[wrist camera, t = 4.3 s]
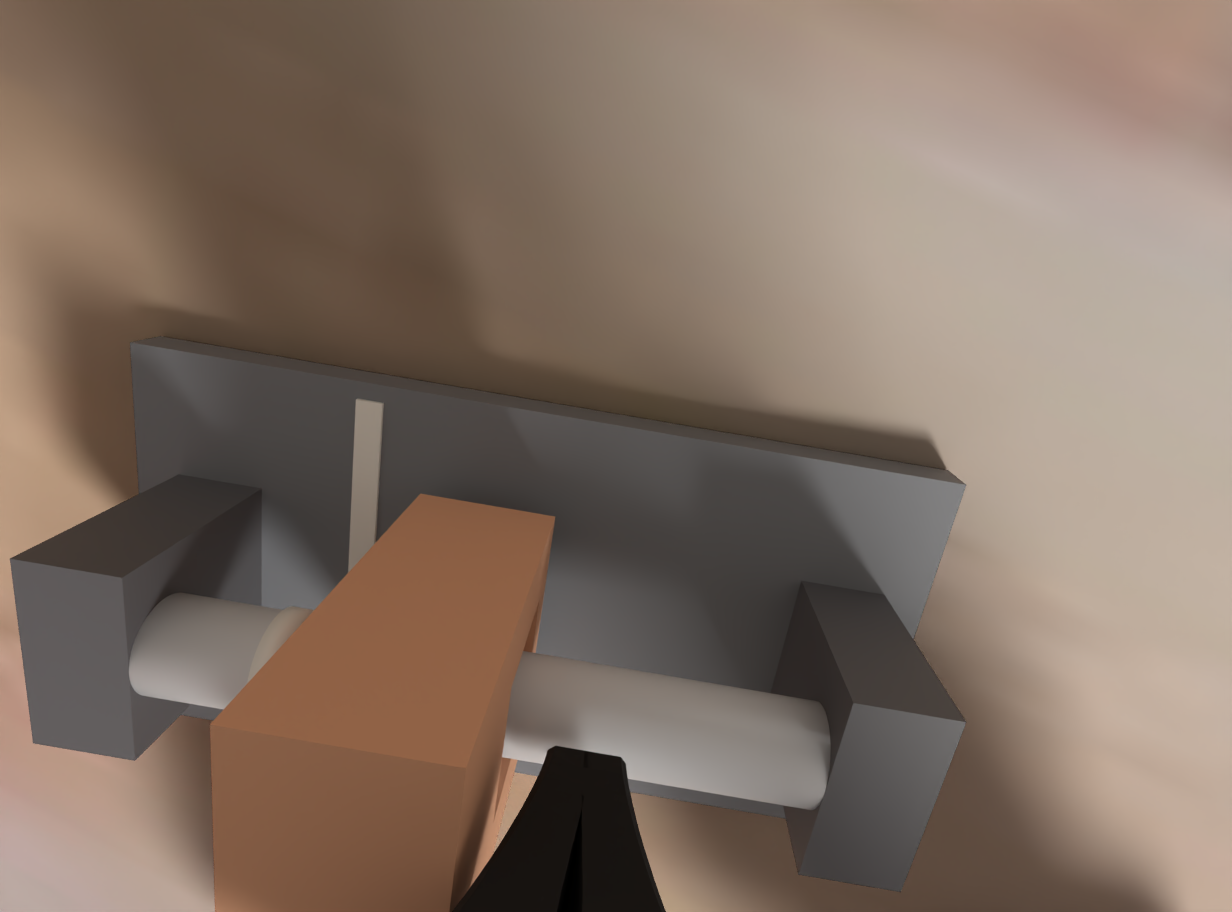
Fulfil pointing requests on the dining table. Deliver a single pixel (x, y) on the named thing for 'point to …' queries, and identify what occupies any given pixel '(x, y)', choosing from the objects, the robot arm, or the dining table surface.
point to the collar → (383, 723)
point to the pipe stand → (573, 599)
